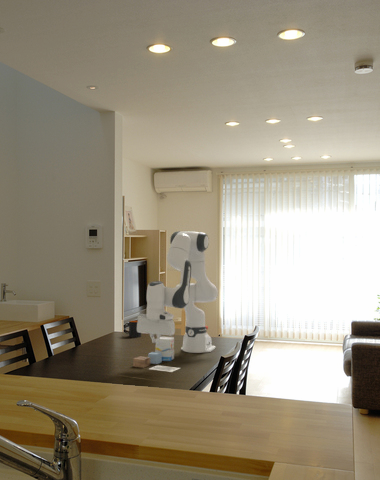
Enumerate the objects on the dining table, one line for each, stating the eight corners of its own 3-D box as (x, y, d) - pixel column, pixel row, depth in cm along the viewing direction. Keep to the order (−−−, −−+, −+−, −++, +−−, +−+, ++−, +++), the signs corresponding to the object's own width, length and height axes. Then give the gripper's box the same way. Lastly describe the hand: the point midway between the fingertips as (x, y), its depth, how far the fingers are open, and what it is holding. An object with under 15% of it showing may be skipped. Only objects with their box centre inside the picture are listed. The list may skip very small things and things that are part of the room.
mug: (126, 335, 336) (126, 320, 336) (142, 335, 333) (142, 320, 333) (122, 336, 328) (122, 321, 328) (138, 337, 325) (138, 322, 325)
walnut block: (139, 364, 243) (140, 356, 243) (150, 365, 240) (150, 357, 240) (133, 366, 237) (133, 358, 238) (143, 368, 235) (143, 359, 235)
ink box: (170, 362, 250) (170, 339, 250) (154, 361, 252) (155, 338, 252) (174, 358, 258) (174, 336, 259) (159, 358, 260) (159, 336, 260)
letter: (157, 365, 240) (157, 365, 240) (180, 368, 234) (180, 368, 234) (148, 369, 232) (148, 368, 232) (171, 372, 226) (171, 371, 226)
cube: (153, 361, 250) (153, 351, 250) (161, 362, 247) (161, 352, 247) (148, 363, 245) (148, 353, 245) (156, 364, 243) (156, 354, 243)
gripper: (134, 314, 239) (134, 342, 238) (170, 316, 229) (169, 346, 229) (141, 312, 244) (141, 340, 244) (176, 315, 235) (176, 343, 234)
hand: (155, 343), depth 236 cm, fingers closed
